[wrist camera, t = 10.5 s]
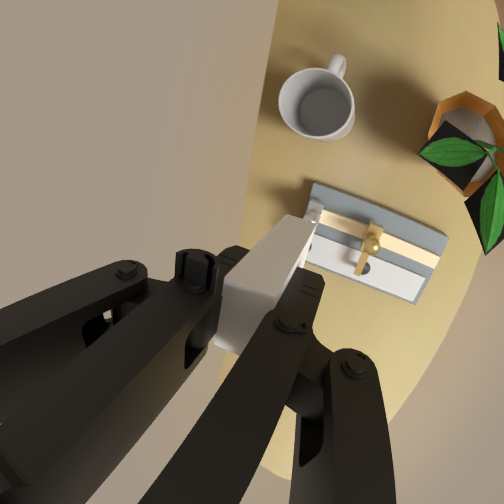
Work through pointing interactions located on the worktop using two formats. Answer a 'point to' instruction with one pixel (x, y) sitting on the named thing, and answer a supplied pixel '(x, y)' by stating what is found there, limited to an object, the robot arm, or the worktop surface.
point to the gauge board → (391, 241)
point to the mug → (318, 102)
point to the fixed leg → (314, 212)
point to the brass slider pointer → (369, 245)
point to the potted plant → (472, 156)
